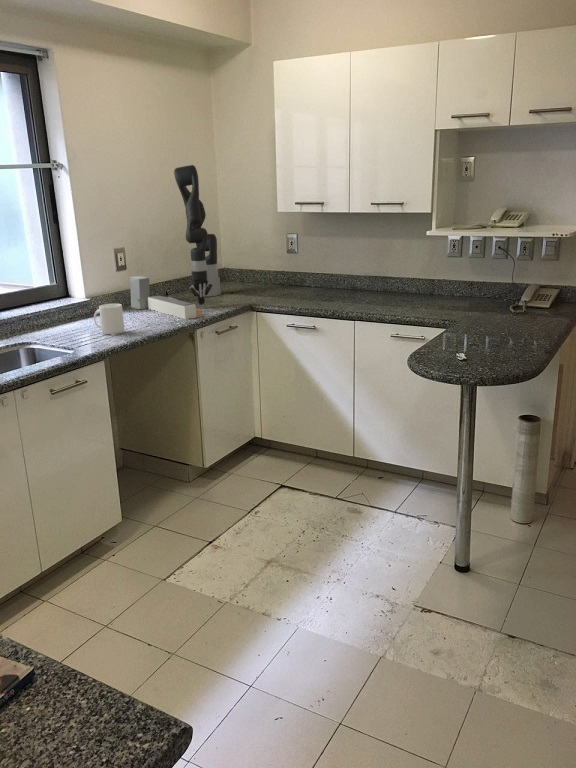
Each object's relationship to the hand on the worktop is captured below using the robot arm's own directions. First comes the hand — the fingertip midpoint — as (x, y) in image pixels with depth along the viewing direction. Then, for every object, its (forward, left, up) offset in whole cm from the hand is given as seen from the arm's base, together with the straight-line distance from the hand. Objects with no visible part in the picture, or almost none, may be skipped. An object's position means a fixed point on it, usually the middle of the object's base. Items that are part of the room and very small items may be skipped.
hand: (201, 304), depth 326 cm
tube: (+10, -4, -2) cm, 11 cm away
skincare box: (+21, -23, -2) cm, 32 cm away
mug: (+57, +18, -2) cm, 60 cm away
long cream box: (+16, 0, -2) cm, 16 cm away
